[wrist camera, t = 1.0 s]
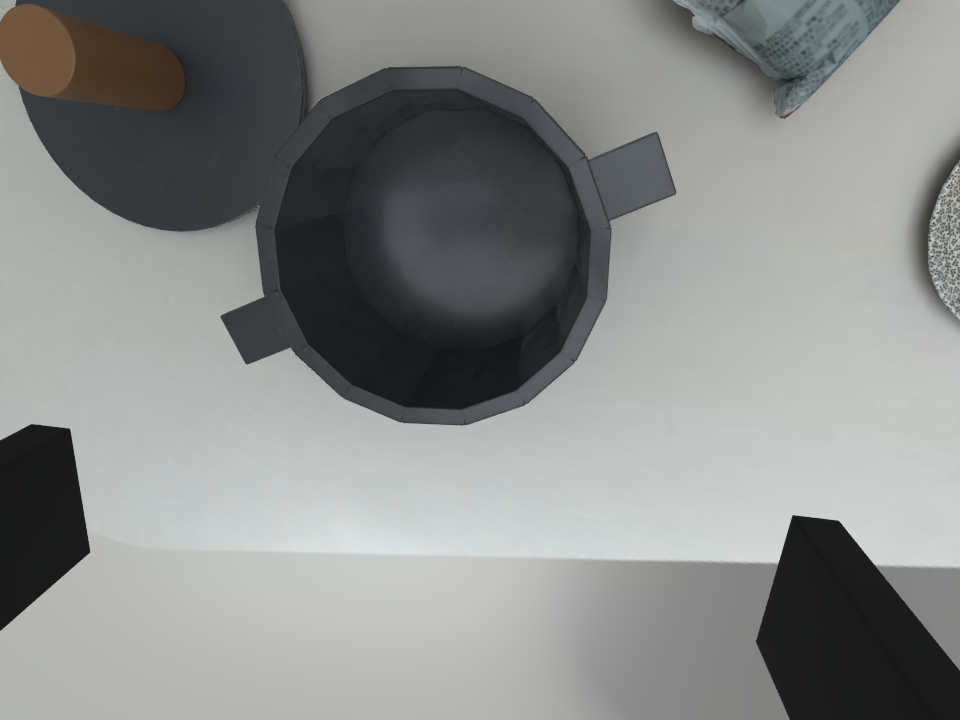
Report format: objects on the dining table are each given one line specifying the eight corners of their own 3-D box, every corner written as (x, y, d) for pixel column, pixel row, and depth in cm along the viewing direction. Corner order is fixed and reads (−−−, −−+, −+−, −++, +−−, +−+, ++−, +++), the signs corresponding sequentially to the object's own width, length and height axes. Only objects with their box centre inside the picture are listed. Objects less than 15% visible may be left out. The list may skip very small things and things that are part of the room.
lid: (-26, -5, 31) (-232, -65, 23) (219, -156, 28) (81, -291, 20) (130, 269, 35) (1, 302, 26) (360, 163, 32) (295, 163, 23)
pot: (245, 182, 32) (139, 188, 24) (589, 19, 28) (607, -43, 20) (357, 407, 36) (299, 482, 27) (677, 291, 32) (725, 337, 23)
